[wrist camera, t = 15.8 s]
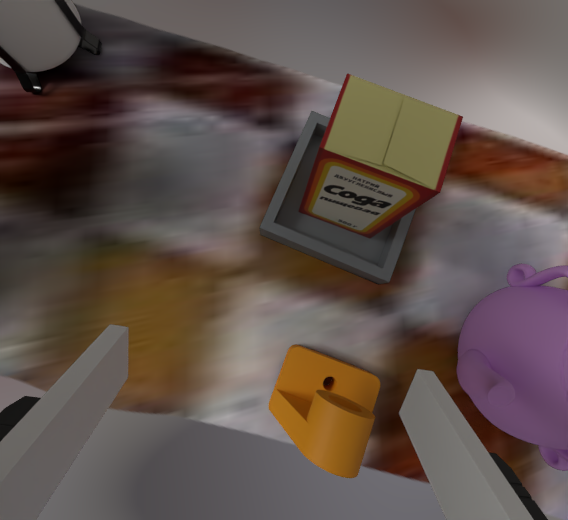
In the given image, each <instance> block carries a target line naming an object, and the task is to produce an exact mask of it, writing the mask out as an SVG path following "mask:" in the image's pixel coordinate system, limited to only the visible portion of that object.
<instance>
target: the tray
mask: <svg viewBox="0 0 568 520" xmlns="http://www.w3.org/2000/svg"><path fill="white" fill-rule="evenodd" d="M329 120H330V118H328V117H326V116H323V115H321V114H319V113H316V112H314V111H311V113H310V116H309V118H308V120H307V122H306V125H305V127H304V129H303V131H302V134H301V136H300V138H299V140H298V143H297V145H296V147H295V149H294V151H293V154H292V156H291V158H290V160H289V163H288V165H287V167H286V169H285V172H284V174H283V176H282V178H281V181H280V183H279V185H278V187H277V190H276V192H275V194H274V196H273V199H272V201H271V203H270V205H269V208H268V210H267V212H266V214H265V216H264V219H263V221H262V223H261V225H260V235H262V236H265V237H267V238H270V239H272V240H274V241H277V242H279V243H281V244H284V245H286V246H289V247H291V248H293V249H296V250H298V251H300V252H303V253H305V254H308V255H310V256H312V257H315V258H317V259H319V260H322V261H324V262H326V263H329V264H331V265H334V266H336V267H338V268H341V269H343V270H345V271H348V272H350V273H353V274H355V275H357V276H360V277H362V278H364V279H367V280H369V281H372V282H374V283H376V284H383V283H388V282H390V279H391V276H392V273H393V271H394V268H395V265H396V262H397V260H398V257H399V254H400V251H401V249H402V246H403V243H404V240H405V237H406V235H407V232H408V229H409V226H410V224H411V221H412V218H413V215H414V212H415V210H416V209H414V210H413V211H411V212H410V213H408V214H406V215H405V216H403V217H402V218H400V219H399V220H397V221H396V222H394V223H393V224H391V225H390V226H388V227H387V228H385V229H384V230H382V231H381V232H379V233H378V234H376V235H375V236H373V237H371V238H367V237H364V236H362V235H359V234H356V233H354V232H351V231H348V230H346V229H343V228H340V227H338V226H335V225H332V224H330V223H327V222H324V221H322V220H319V219H316V218H314V217H311V216H308V215H306V214H303V213H300V212H298V211H299V208H300V205H301V202H302V199H303V196H304V193H305V190H306V187H307V183H308V180H309V177H310V174H311V171H312V168H313V165H314V162H315V159H316V156H317V153H318V150H319V147H320V144H321V141H322V139H323V136H324V133H325V131H326V128H327V126H328V123H329Z"/></svg>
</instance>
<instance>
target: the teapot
mask: <svg viewBox="0 0 568 520" xmlns="http://www.w3.org/2000/svg"><path fill="white" fill-rule="evenodd" d="M524 275H525V278H524ZM563 276H566V277H567V278H568V266H556V267H552V268H548V269H546V270H543V271H541V272H538V273H536V271H535V269H534V268H533V267H532V266H530V265H527V264H517V265H514V266H512V267H511V268H510V270H509V271H508V274H507V281H508V283H509V285H510V287H506V288H503V289H500V290H497V291H495V292H493V293H491V294H490V295H488V296H487V297H485V298H484V299H482V300H481V301H480V302H479V303H478V304H477V305H476V306H475V307H474V308H473V309H472V311H471V312H470V313H469V315H468V316H467V318H466V320H465V322H464V324H463V327H462V329H461V333H460V337H459V343H458V364H457V376H458V381H459V383H460V385H461V387H462V388H463V390H464V391H465V392H466V393H467V394H468V395H469V397H470V398H471V400H472V401H473V403H474V404H475V406H476V407H477V408H478V409H479V411H480V412H481V413H482V414H483V415H484V417H486V418H487V419H488V420H489V421H490V422H491V423H492V424H493V425H495V426H496V427H498V428H499V429H500V430H502V431H504V432H506V433H508V434H510V435H512V436H514V437H516V438H518V439H521V440H523V441H526V442H529V443H532V444H536V445H539V451H540V453H541V456H542V457H543V459H544V461H545V462H546V463H547V464H548V465H550V466H551V467H553V468H555V469H558V470H562V471H566V470H568V290H564V289H560V288H555V287H549V286H540V285H541V284H544V283H546V282H548V281H551V280H553V279H556V278H559V277H563Z"/></svg>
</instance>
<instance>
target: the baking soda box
mask: <svg viewBox="0 0 568 520" xmlns="http://www.w3.org/2000/svg"><path fill="white" fill-rule="evenodd" d="M462 118H463V117H462V116H460V115H456V114H454V113H452V112H449V111H446V110H443V109H441V108H438V107H435V106H433V105H430V104H427V103H425V102H422V101H419V100H417V99H414V98H411V97H408V96H406V95H403V94H401V93H398V92H395V91H393V90H390V89H387V88H384V87H382V86H379V85H376V84H374V83H371V82H368V81H366V80H363V79H360V78H358V77H355V76H352V75H350V74H347V76H346V78H345V81H344V84H343V86H342V89H341V91H340V94H339V97H338V99H337V102H336V104H335V107H334V110H333V112H332V115H331V118H330V120H329V123H328V126H327V128H326V131H325V133H324V136H323V139H322V141H321V144H320V147H319V150H318V153H317V156H316V159H315V162H314V165H313V168H312V171H311V174H310V177H309V180H308V183H307V187H306V190H305V193H304V196H303V199H302V202H301V205H300V208H299V211H298V212H300V213H303V214H306V215H308V216H311V217H314V218H316V219H319V220H322V221H324V222H327V223H330V224H332V225H335V226H338V227H340V228H343V229H346V230H348V231H351V232H354V233H356V234H359V235H362V236H364V237H367V238H371V237H373V236H375V235H376V234H378V233H379V232H381V231H382V230H384V229H385V228H387V227H388V226H390V225H391V224H393V223H394V222H396V221H397V220H399V219H400V218H402V217H403V216H405V215H406V214H408V213H410V212H411V211H413V210H414V209H416V208H417V207H419V206H420V205H422V204H423V203H425V202H426V201H428V200H429V199H431V198H432V197H434V196H435V195H437V194H438V193H440V191H441V188H442V185H443V181H444V178H445V175H446V171H447V168H448V165H449V161H450V158H451V155H452V151H453V148H454V145H455V142H456V138H457V135H458V132H459V128H460V125H461V122H462Z"/></svg>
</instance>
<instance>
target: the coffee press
mask: <svg viewBox="0 0 568 520" xmlns="http://www.w3.org/2000/svg"><path fill="white" fill-rule="evenodd" d="M81 37H82V38H81ZM101 46H102V43H101V41H100V40H99V39H97V38H96V37H95V36H93V35H92V34H90V33H89V32H88V31H87V30H86V29H84V27H83V26H82V24H81V19H80V15H79V13H78V11H77V9H76V7H75V5H74V3H73V2H72V0H0V63H1V64H3V65H5V66H7V67H9V68H12V69H13V70H14V71H15V73H16V75H17V77H18V79H19V81H20V83H21V85H22V87H23V89H24V90H25V91H26V92H32V93H40V92H41V90H42V88H41V84H40V81H39V78H38V72H39V71H45V70H49V69H52V68H54V67H57V66H59V65H60V64H62V63H63V62H65V61H66V60H67V59H68V58H69V57H70V56H71V55H72V54H73V53H74V52H75V50H76V48H77V47H81V48H83V49H85V50H87V51H89V52H90V53H92V54H95V55H99V54H100V51H101Z"/></svg>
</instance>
